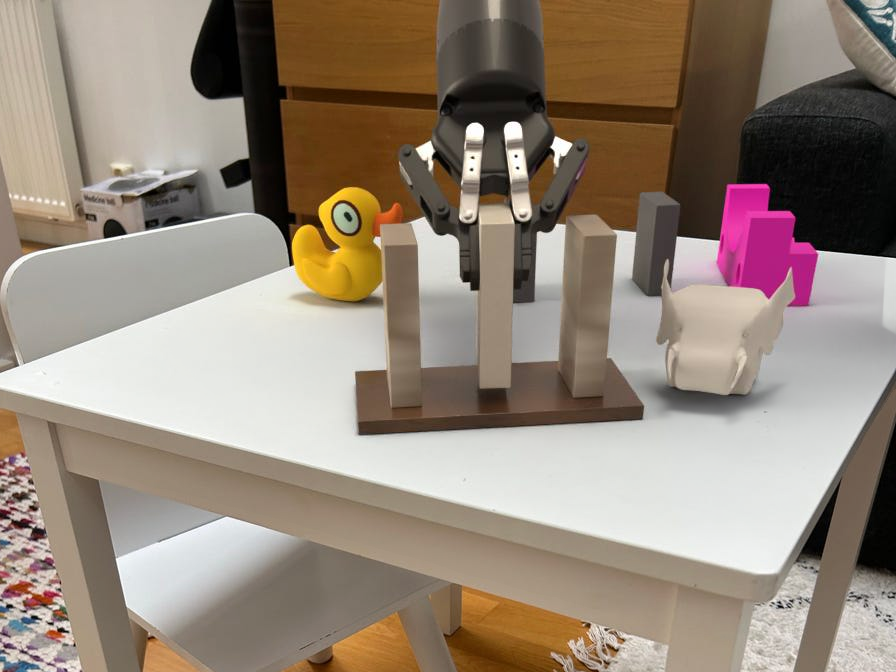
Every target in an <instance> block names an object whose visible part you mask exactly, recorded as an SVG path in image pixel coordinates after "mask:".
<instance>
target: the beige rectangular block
mask: <svg viewBox="0 0 896 672" xmlns="http://www.w3.org/2000/svg"><path fill="white" fill-rule="evenodd" d="M477 215H478V220H477V225H479V251H480V287H479V291H476V365H477V367H478V377H479V387H480V388H481V389H483V388H510V387H511V363H512V353H513V352H512V351H513V314H514V313H513V312H514V302H513V274H514V232H515V223H514V220H513V216H512V213H511V209H510V206H509V203H504V202H499V203H497V202H496V203H479V205H478V212H477Z"/></svg>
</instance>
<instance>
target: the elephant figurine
mask: <svg viewBox="0 0 896 672" xmlns="http://www.w3.org/2000/svg"><path fill="white" fill-rule="evenodd" d="M668 270H669V260H668V259H667V260H666V262H665V265H664V277H663V283H662V286H661V288H662V295H661V316H660V322H659V327H658V330H657V334H656V341H655V342H656V343H657V344H658V346H659V345H660V346H663V345H664V344H665V343H666V342H667V341H668V344H667V346H666V350H665V353H664V354H665V355H664V363H665V364H664V365H665V371H666V377H667V378H666V379H667V384H668V386H669V387H670V388H677V389H679V390H682V391H695V392H702V393H703V392H704V393H709V394H715V395H721V396H728V395H729V394H730V395H732V394H733V395H747V394H748V393H749V392H750V391H751V390H752V387H753V384H754V382H755V379H756V377H757V375H758V373H759V370H760V366H761V363H762V360H763V356H764V355H765V356H770V355H771V354H772V353H773V351H774V348H775V342H776V341H777V339H778V338H779V336H780V334H781V332H782V330H783V327H784V313H785V310H786V308H787V307H788V306H789V305H788V304H789V303H791V302H792V301H793V300H794V299H795V293H794V288H793V277H792V267H791V268H790V269H789V272H788V274H787V277H786V280H785V281H784V282H783V284H782V285H781V286H780V287H779V288H778V289H777V290H776V292H775V293H774V294H773V295H772V297H771V298H770V299H768V298H767V297H766V296H765V294H764V293H763V292H762V291H761V290H758V289H753V288H742V287H729V286H728V285H714V284H699V283H697V284H695V283H693V284H690V285H687V286H686V287H685V288H681V289H678V290H676V291H674V292H673V291H672V288H671V289H670V286H669V284H668V281H667V274H668ZM763 354H764V355H763Z"/></svg>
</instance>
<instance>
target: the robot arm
mask: <svg viewBox="0 0 896 672" xmlns="http://www.w3.org/2000/svg"><path fill="white" fill-rule="evenodd" d="M438 3H439V5H438V14H437V20H436V38H435V39H436V50H435V62H436V88H437V89H436V90H437V92H436V93H437V94H436V95H437V97H436V99H437V122H436V124H435V126H434V128H433V129H432V132H431V135H430V140H429V141H427V142H425V143H422V144H421V145H419V146H417V147H415V146H414V145H412V144H410V143H404V144H402V145H401V146H400V147H399V148H398V152H397V154H398V166H399V176H400V179H401V181H402V182H403V184H404V185H405V187H406V189H407V190H408V192H409V193H410V196H411V197H412V198H413V200H414V202H415V203H416V205H417V207H418V208H419V210H420V212H421V213H422V215H423V217H424V218H425V220H426V221H427V223H428V225H429V226H430V228H431V229H432V231H433V233H434V234H435V235H436V236H439V237H443V236H447V235H449V236H453V237H454V238H456V240H457V242H458V251H459V252H458V255H459V257H458V261H459V278H460V280H461V282H462V283H463V284H464V283H469V291H470V292H477V291H479V287H480V251H479V225H477V220H478V215H477V212H478V205H479V204H480V199H481V198H480V197H484V196H489V195H492V194H493V195H499V196H504V197H505V199H506V203H509V206H510V209H511V213H512V216H513V220H514V223H515V232H514V274H513V290H520V289H521V284H522V281H528V280H529V277H530V274H531V268H532V239H531V237H532V235H534V234H535V233H537V234H538V233H539V232H541V233H543V234H549V233H551V232H553V230H554V229H555V228H556V226H557V224H558V222H559V220H560V219H561V217H562V215H563V213H564V211H565V209H566V207H567V205H568V203H569V201H570V200H571V198H572V196H573V195H574V192H575V191H576V189H577V187H578V185H579V184H580V182H581V179H582V178H583V176H584V174H585V172H586V167H587V163H588V158H589V153H590V147H591V145H590V143H589V142H588V140H587V139H585V138H577V139H575V140H573V142H569V141H567V140H565V139H562V138H561V137H559V136H556V130H555V127H554V125H553V124H552V122H551V121H550V119H549V117H548V113H547V93H546V91H547V90H546V67H545V66H546V65H545V41H544V22H543V21H544V20H543V14H542V13H543V12H542V8H541V4H540V0H439V2H438ZM549 157H550V158H551V159H552V161H553V162H552V167H551V169H552V174H554V176H553V178H552V180H551V182H550V184H549V185H548V187H547V189H546V191H545V193H544V195H543V197H542V198H541V201H540V202H537V203H534V204H532V206H531V203H532V201H531V194H530V182H531V181H532V179H534V177H535V175H536V174H537V173H538V172H539V170H540V169H541V168H542V166H543V165H544V163H545V162H546V161H547V159H548V158H549ZM435 161H436V162H437V163H438V164H439V165H440V166H441V167H442V169H443V170H444V171H445V173H447V175H448V176H449V177H450V178H451V179H452V181H453V182H454V183H455V184H456V185H457V186H458V188H460V199H459V200H460V201H459V207H458V206H457V207H456V206H453V205H451V204H450V202H449V200H448V198H447V197H446V195H445V193H444V192H443V191H442V189H441V187H440V186H439V184H438V183H437V181H436V179H435V178H434V176H435V164H434V163H435Z"/></svg>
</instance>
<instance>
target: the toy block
mask: <svg viewBox="0 0 896 672" xmlns="http://www.w3.org/2000/svg"><path fill="white" fill-rule="evenodd" d="M770 191H771V188H770V186H769V185H768V184H767V183H740V184H739V183H738V184H737V183H734V184H732V183H731V184H730V183H729V184H727V185H726V193H725V200H724V207H723V214H722V222H721V229H720V237H719V242H718V243H719V244H718V251H717V258H716V264H717V267H718V268H719V270H720V272H721V275H722V276H723V278H724V280H725V283H726V284H727V285H726V286H729V287H742V288H753V289H758V290H761V291H762V292H763V293H764V294H765V296H766V297H767V298H768V299H770V298H771V297H772V295H773V294H774V293H775V292H776V290H777V289H778V288H779V287H780V286H781V285H782V284H783V282H784V281H785V280H786V277H787V274H788V272H789V269H790V268H791V267H792V277H793V288H794V293H795V299H794V300H793V301H792V302H791V303H789V304H788V305H787V306H797V307H798V306H800V307H801V306H805V307H806V306H809V305H810V300H811V295H812V289H813V286H814V285H813V283H814V280H815V275H816V274H815V273H816V268H817V264H818V259H819V253H818V251H817V250H816V249H815V248H814V246H813V245H812V244H811V243H810V242H795V237H794V236H793V235H794V229H795V222H796V216H794V214H793V213H792V212H791V211H790V210H772V211H771V210H769V200H770Z"/></svg>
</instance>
